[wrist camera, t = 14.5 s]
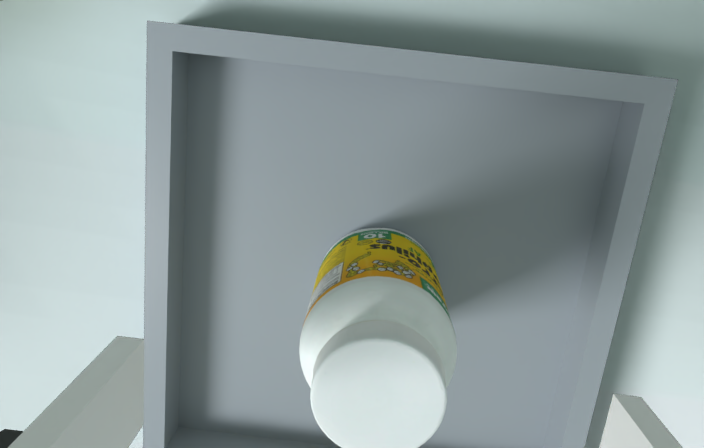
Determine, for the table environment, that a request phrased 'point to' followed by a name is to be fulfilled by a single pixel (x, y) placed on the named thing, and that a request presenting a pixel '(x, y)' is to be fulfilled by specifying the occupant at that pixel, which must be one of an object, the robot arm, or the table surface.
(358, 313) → the supplement bottle
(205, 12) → the table surface
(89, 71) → the table surface
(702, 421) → the table surface
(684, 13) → the table surface
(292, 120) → the slate tray
